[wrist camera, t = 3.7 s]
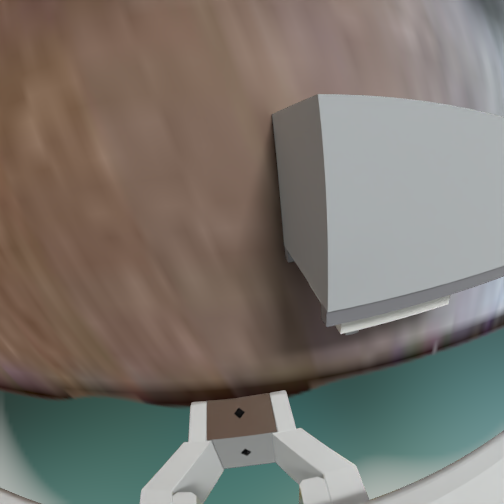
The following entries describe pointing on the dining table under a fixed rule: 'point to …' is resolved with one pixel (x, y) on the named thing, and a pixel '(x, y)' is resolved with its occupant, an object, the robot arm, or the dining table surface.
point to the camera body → (389, 200)
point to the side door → (389, 316)
